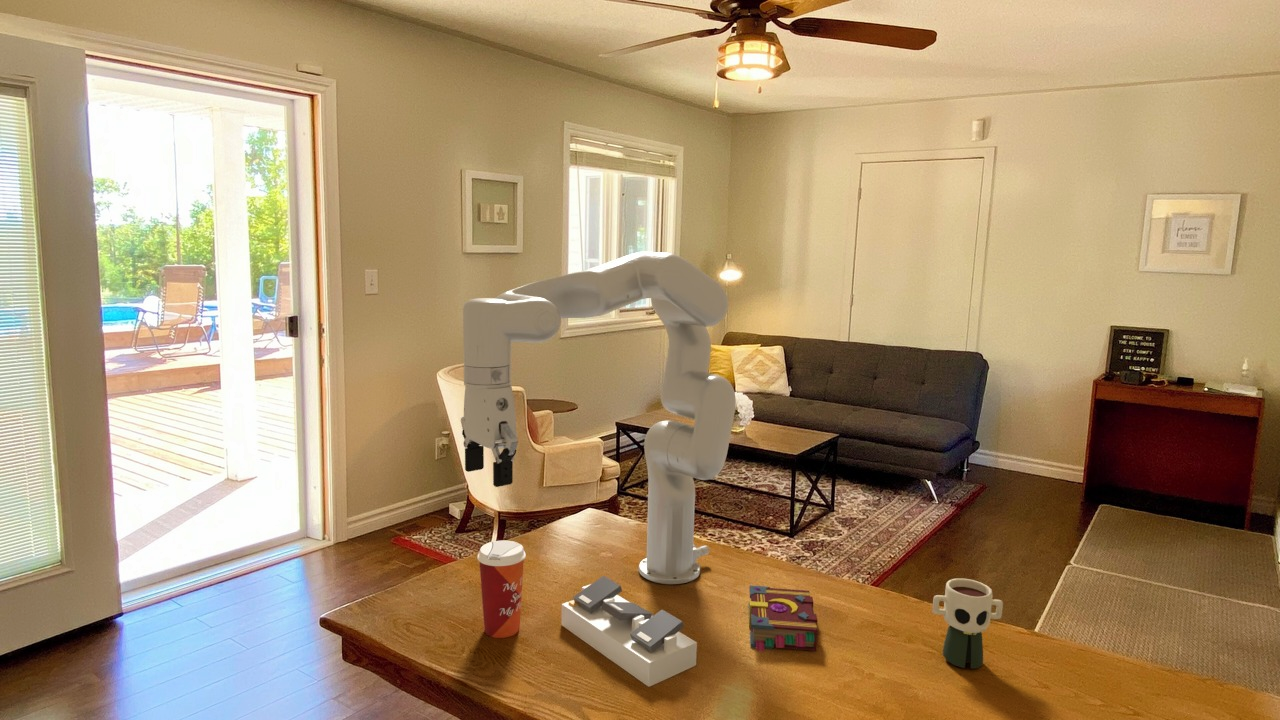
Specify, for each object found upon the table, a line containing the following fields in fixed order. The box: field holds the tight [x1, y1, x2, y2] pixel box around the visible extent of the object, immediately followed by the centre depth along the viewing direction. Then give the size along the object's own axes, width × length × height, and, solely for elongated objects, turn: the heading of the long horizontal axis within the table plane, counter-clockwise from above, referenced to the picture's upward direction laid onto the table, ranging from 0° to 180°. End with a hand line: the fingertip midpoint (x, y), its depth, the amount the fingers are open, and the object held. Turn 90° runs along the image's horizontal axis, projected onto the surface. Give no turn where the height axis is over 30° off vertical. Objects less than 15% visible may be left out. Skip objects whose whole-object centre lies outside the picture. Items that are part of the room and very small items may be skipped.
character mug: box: [932, 578, 1004, 669], centre depth 128 cm, size 11×7×13 cm, turn 83°
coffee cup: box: [476, 539, 527, 639], centre depth 135 cm, size 8×8×15 cm
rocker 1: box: [572, 575, 623, 613], centre depth 137 cm, size 7×5×2 cm
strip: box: [560, 583, 698, 688], centre depth 133 cm, size 10×27×6 cm, turn 40°
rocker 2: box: [630, 609, 685, 653], centre depth 125 cm, size 7×5×2 cm
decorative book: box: [748, 584, 819, 652], centre depth 138 cm, size 11×16×5 cm
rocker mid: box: [601, 601, 653, 620], centre depth 131 cm, size 7×5×2 cm
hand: (488, 477), depth 129 cm, fingers open, 9 cm apart
